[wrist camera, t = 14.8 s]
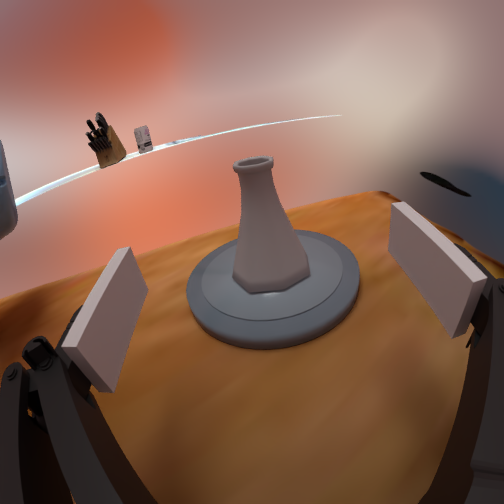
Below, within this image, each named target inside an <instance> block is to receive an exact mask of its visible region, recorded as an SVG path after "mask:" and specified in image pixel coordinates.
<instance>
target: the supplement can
mask: <svg viewBox="0 0 504 504" xmlns="http://www.w3.org/2000/svg"><path fill="white" fill-rule="evenodd" d="M134 134H135V138H136V142H137V145H138V149H139V153H141V154H142V153H146V152H149V151H151V150H152V149H153V146H152V142H151V138H150V134H149V130H148V127H147V126H143V127H140V128H136V129H135V130H134Z"/></svg>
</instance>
